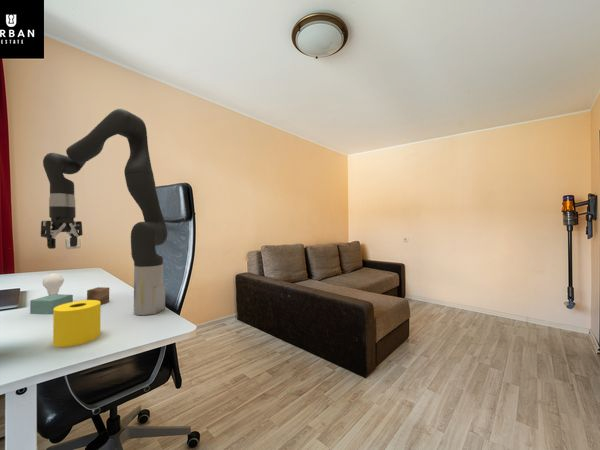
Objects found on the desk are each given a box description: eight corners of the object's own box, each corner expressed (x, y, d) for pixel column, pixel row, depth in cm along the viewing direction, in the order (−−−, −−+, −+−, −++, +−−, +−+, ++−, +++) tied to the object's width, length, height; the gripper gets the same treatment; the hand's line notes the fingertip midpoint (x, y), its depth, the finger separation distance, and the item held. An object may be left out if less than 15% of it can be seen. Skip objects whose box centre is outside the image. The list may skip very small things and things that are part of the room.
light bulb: (68, 297, 112) (68, 272, 112) (51, 301, 105) (52, 275, 105) (54, 296, 112) (54, 271, 112) (37, 301, 106) (37, 274, 106)
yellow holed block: (45, 350, 65) (45, 313, 65) (63, 334, 74) (63, 302, 74) (93, 343, 69) (93, 308, 69) (104, 329, 78) (105, 298, 78)
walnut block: (109, 302, 105) (109, 287, 105) (98, 305, 100) (99, 290, 100) (97, 301, 106) (97, 287, 106) (87, 305, 101) (87, 290, 101)
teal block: (72, 307, 99) (72, 294, 99) (51, 314, 91) (51, 300, 91) (52, 307, 99) (52, 294, 99) (30, 314, 91) (30, 300, 91)
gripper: (53, 204, 92) (53, 249, 92) (87, 207, 106) (88, 246, 106) (33, 204, 92) (34, 249, 92) (70, 207, 107) (71, 246, 107)
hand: (63, 247), depth 99 cm, fingers open, 8 cm apart
